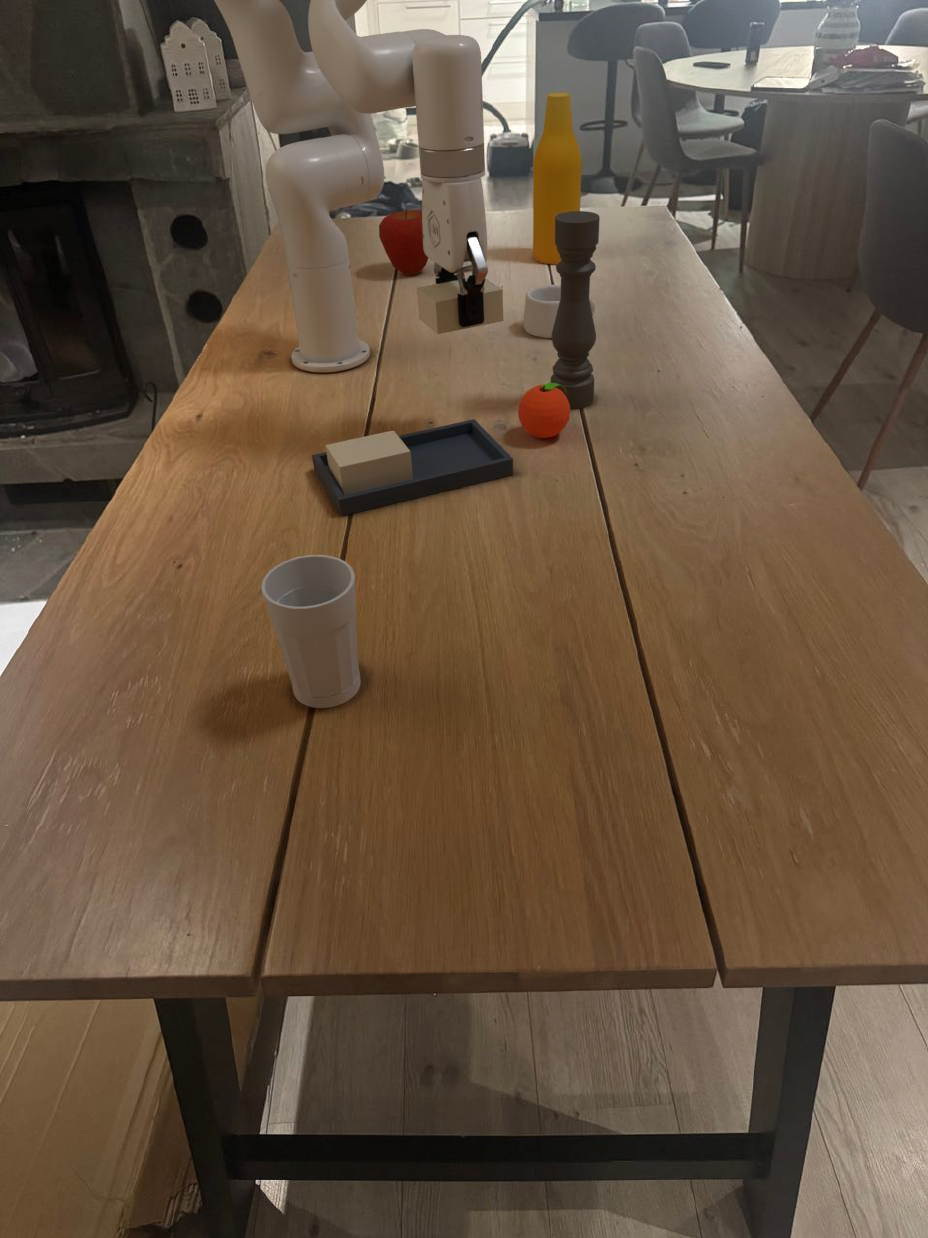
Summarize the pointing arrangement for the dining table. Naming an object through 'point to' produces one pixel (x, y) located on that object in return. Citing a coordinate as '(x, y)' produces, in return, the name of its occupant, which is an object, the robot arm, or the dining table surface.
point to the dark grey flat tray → (429, 467)
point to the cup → (316, 627)
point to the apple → (404, 241)
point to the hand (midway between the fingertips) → (460, 314)
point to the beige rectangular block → (455, 306)
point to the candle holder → (575, 306)
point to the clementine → (544, 410)
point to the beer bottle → (554, 176)
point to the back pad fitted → (369, 462)
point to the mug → (543, 310)
